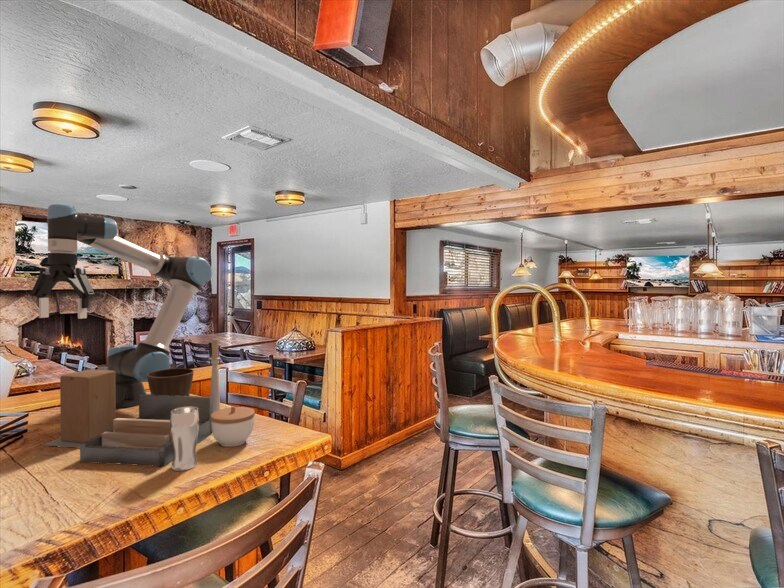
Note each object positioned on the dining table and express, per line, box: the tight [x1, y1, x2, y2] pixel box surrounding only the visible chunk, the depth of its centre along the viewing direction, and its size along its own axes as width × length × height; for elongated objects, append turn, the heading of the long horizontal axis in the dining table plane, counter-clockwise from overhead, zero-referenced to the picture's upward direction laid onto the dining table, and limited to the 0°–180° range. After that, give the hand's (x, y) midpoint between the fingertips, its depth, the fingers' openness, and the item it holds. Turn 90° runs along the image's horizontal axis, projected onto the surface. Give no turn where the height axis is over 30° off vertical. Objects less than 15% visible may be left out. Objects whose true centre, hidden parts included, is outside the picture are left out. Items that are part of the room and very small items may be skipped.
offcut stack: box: [102, 417, 171, 449], centre depth 114 cm, size 8×19×9 cm, turn 85°
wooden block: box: [59, 368, 116, 443], centre depth 126 cm, size 10×10×20 cm
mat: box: [42, 437, 81, 448], centre depth 127 cm, size 15×15×1 cm
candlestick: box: [209, 338, 221, 413], centre depth 141 cm, size 13×13×30 cm
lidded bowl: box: [211, 405, 256, 448], centre depth 125 cm, size 13×13×11 cm
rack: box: [79, 394, 213, 467], centre depth 120 cm, size 24×24×12 cm
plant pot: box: [147, 367, 195, 396], centre depth 148 cm, size 15×15×16 cm
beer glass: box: [170, 406, 199, 472], centre depth 108 cm, size 7×7×15 cm
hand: (63, 318), depth 133 cm, fingers open, 13 cm apart
